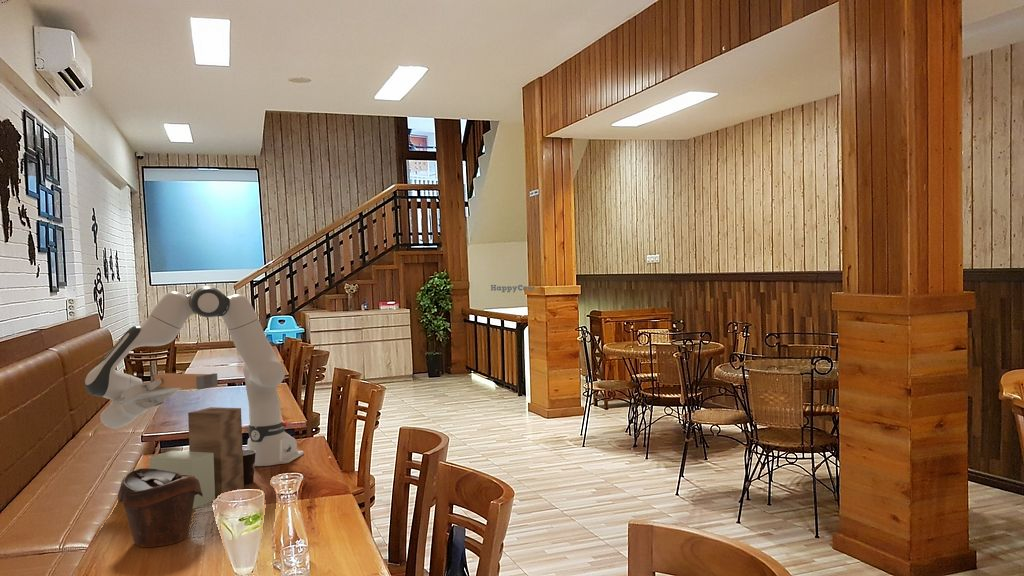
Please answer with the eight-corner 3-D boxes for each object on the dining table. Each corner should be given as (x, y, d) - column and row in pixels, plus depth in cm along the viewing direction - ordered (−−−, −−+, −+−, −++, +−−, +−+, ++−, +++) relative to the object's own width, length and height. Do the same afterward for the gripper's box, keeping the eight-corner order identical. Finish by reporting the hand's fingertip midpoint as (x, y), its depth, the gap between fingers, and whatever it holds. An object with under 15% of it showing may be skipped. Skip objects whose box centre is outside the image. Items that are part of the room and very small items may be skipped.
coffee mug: (247, 486, 235) (246, 456, 235) (223, 486, 237) (222, 455, 237) (266, 477, 246) (265, 447, 246) (243, 476, 248) (242, 447, 248)
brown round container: (199, 545, 183) (197, 474, 183) (111, 557, 177) (108, 483, 177) (208, 524, 200) (205, 459, 200) (128, 534, 194) (125, 467, 194)
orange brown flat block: (168, 384, 241) (168, 372, 241) (217, 385, 234) (217, 373, 234) (149, 388, 233) (149, 375, 233) (199, 389, 227) (199, 376, 227)
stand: (213, 486, 237) (210, 407, 237) (243, 488, 233) (241, 408, 233) (191, 495, 228) (188, 412, 227) (222, 497, 224) (219, 414, 224)
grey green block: (173, 496, 227) (172, 450, 227) (215, 499, 222) (213, 452, 221) (150, 505, 218) (149, 457, 218) (193, 509, 213) (191, 460, 213)
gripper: (109, 395, 230) (138, 374, 226) (159, 386, 250) (186, 366, 246) (117, 413, 229) (146, 392, 226) (167, 402, 249) (194, 382, 245)
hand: (168, 378), depth 236 cm, fingers closed on orange brown flat block, 4 cm apart
